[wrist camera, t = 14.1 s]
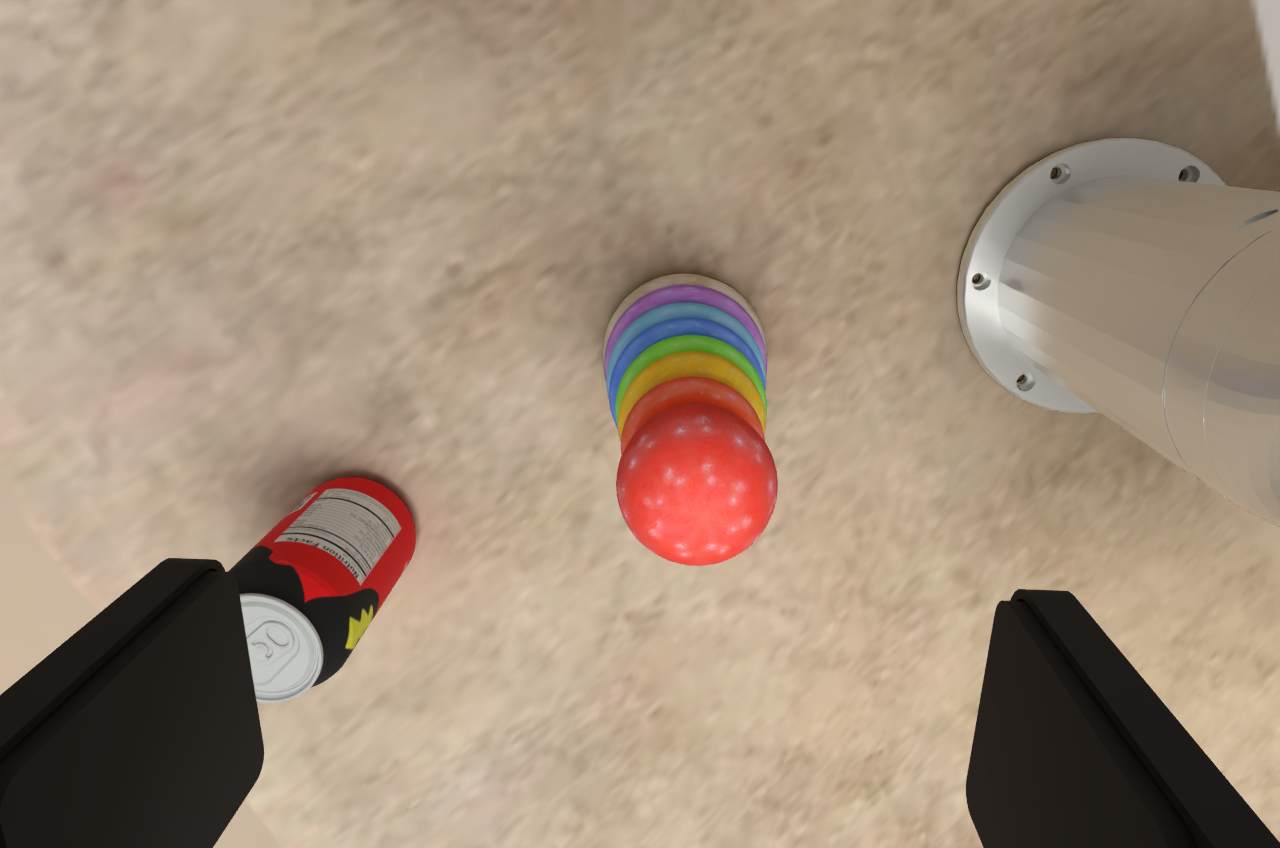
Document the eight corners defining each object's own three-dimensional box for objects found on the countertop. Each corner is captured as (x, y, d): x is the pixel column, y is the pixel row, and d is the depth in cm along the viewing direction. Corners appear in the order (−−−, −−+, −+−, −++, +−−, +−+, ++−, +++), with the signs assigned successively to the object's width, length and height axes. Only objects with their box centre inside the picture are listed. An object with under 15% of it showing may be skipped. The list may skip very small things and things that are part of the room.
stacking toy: (611, 432, 44) (561, 636, 26) (597, 276, 41) (530, 386, 24) (767, 423, 43) (823, 626, 26) (762, 264, 41) (820, 369, 23)
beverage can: (282, 514, 46) (152, 638, 35) (363, 446, 45) (253, 553, 34) (365, 595, 48) (265, 740, 36) (445, 532, 46) (367, 662, 35)
